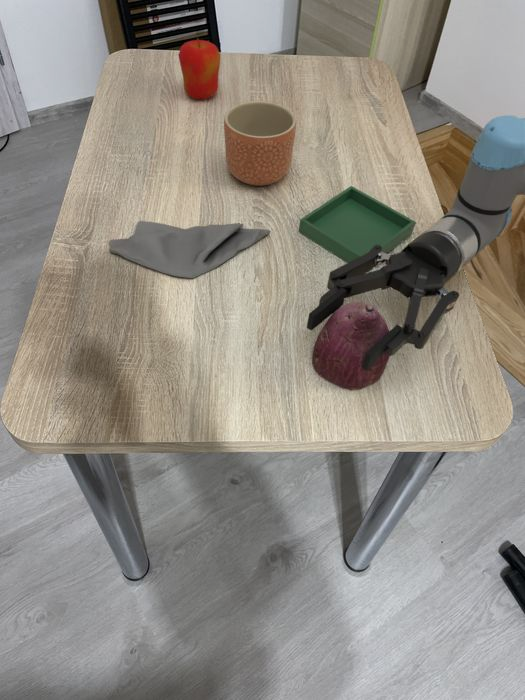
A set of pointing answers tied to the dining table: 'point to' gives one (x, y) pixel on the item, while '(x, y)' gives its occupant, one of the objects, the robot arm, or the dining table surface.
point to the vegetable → (350, 346)
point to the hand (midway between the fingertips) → (337, 341)
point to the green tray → (355, 225)
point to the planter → (259, 141)
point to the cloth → (184, 246)
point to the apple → (200, 68)
